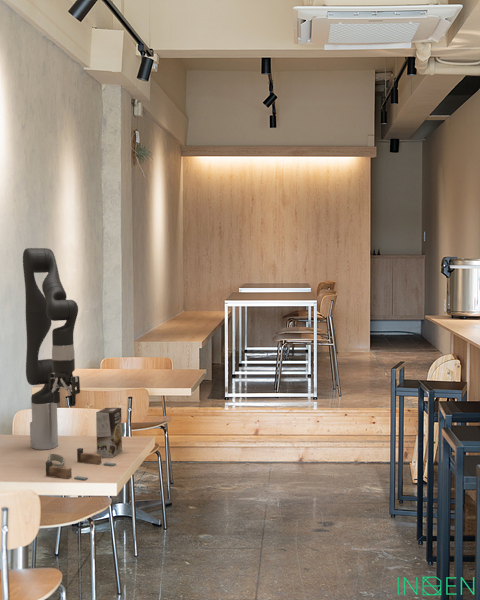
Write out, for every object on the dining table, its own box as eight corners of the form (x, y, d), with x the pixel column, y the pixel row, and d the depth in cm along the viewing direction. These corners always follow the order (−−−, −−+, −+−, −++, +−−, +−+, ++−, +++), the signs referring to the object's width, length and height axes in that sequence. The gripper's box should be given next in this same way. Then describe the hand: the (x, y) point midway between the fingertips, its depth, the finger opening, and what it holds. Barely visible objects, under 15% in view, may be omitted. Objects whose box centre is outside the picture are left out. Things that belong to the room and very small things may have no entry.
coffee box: (113, 457, 229) (112, 412, 228) (96, 456, 230) (95, 412, 229) (123, 450, 238) (121, 407, 237) (106, 450, 239) (105, 406, 238)
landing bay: (74, 479, 205) (74, 477, 205) (106, 463, 221) (105, 462, 221) (84, 480, 204) (84, 478, 204) (115, 465, 220) (115, 463, 220)
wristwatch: (46, 464, 222) (46, 450, 222) (65, 463, 224) (65, 448, 223) (45, 472, 213) (44, 457, 213) (65, 470, 215) (64, 456, 215)
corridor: (45, 475, 209) (45, 462, 209) (79, 460, 226) (79, 448, 226) (68, 478, 206) (68, 464, 205) (101, 463, 222) (101, 450, 222)
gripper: (41, 357, 223) (42, 403, 224) (67, 360, 214) (68, 409, 215) (59, 355, 229) (60, 400, 230) (85, 358, 220) (86, 405, 221)
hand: (64, 404), depth 223 cm, fingers open, 8 cm apart
